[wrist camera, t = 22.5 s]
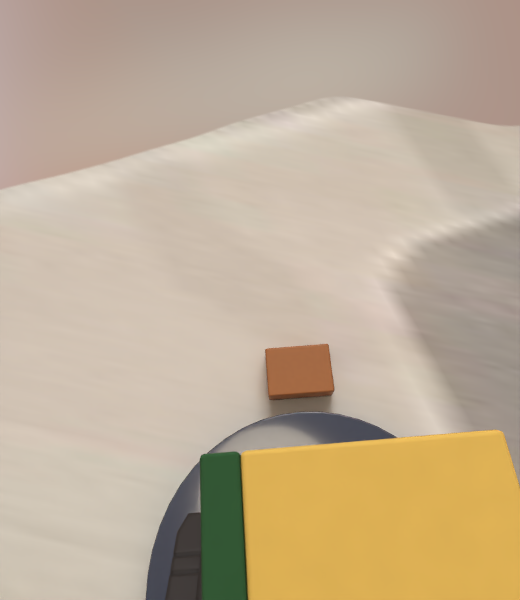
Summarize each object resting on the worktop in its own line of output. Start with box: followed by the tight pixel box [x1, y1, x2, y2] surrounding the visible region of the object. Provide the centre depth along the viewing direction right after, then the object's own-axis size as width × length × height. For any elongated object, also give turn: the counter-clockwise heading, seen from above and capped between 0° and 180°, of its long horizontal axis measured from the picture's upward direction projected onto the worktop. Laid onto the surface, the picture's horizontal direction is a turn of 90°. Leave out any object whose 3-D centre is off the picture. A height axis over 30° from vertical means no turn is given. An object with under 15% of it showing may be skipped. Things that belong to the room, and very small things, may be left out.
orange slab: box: [265, 344, 334, 400], centre depth 28 cm, size 4×3×2 cm
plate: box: [146, 412, 397, 600], centre depth 24 cm, size 18×18×2 cm
